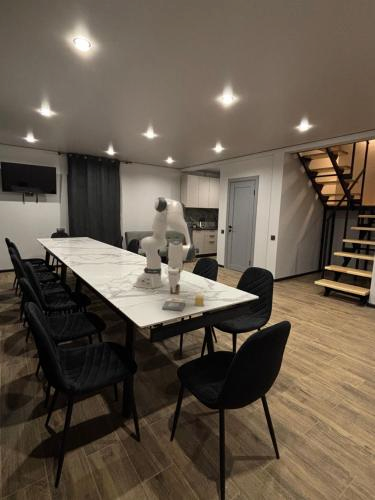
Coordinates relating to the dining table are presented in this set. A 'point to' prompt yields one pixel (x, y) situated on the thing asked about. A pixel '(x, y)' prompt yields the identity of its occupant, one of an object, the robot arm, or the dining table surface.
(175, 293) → the block
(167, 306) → the plate
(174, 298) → the page
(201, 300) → the block
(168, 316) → the dining table surface
